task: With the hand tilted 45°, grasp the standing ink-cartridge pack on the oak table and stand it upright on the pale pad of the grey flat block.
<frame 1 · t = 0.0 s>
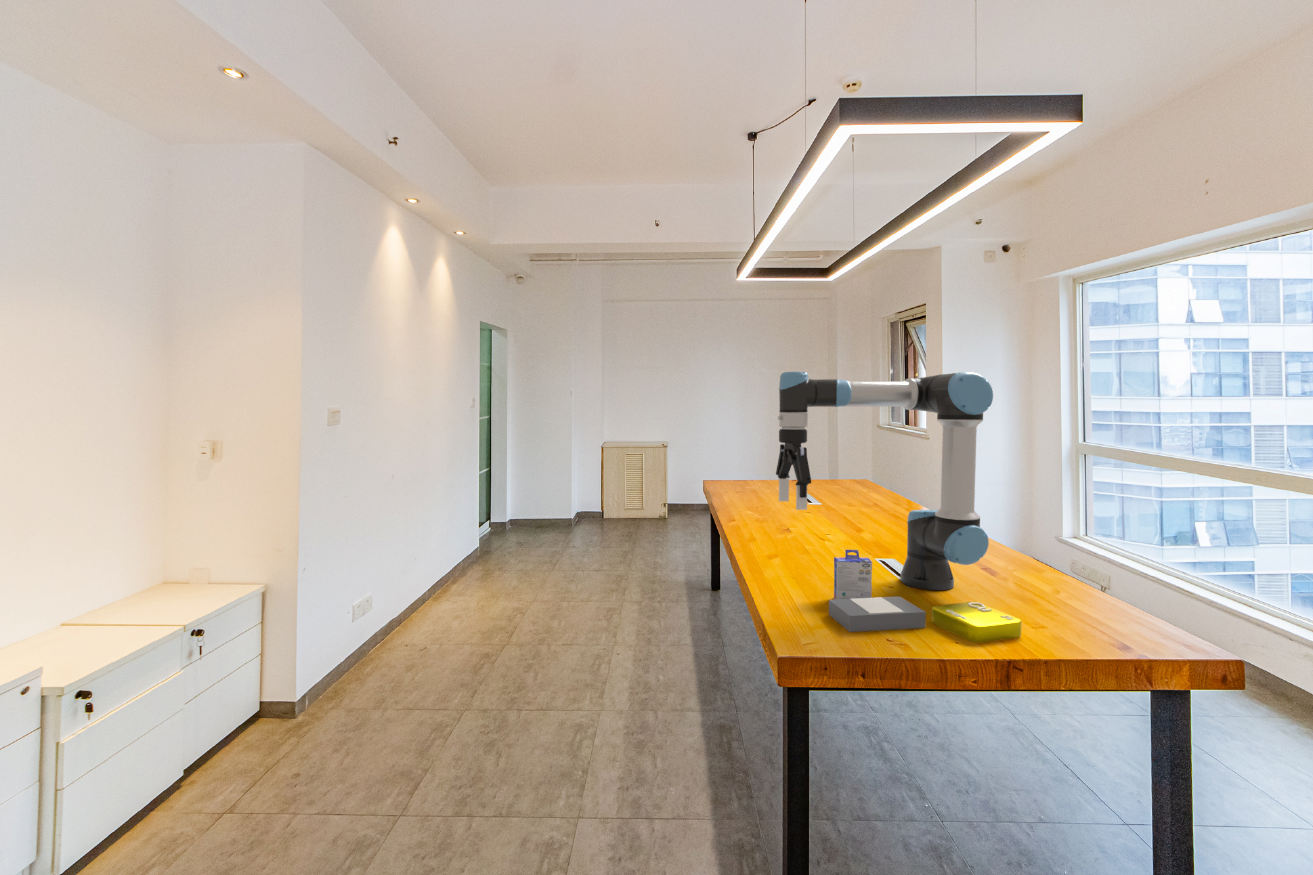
hand: (792, 505, 161), 28 cm above the table, tool pointing down, fingers open, 13 cm apart
ink cartridge box: (852, 602, 165), on the table
element tile: (974, 630, 145), on the table
grey flat block: (875, 620, 150), on the table
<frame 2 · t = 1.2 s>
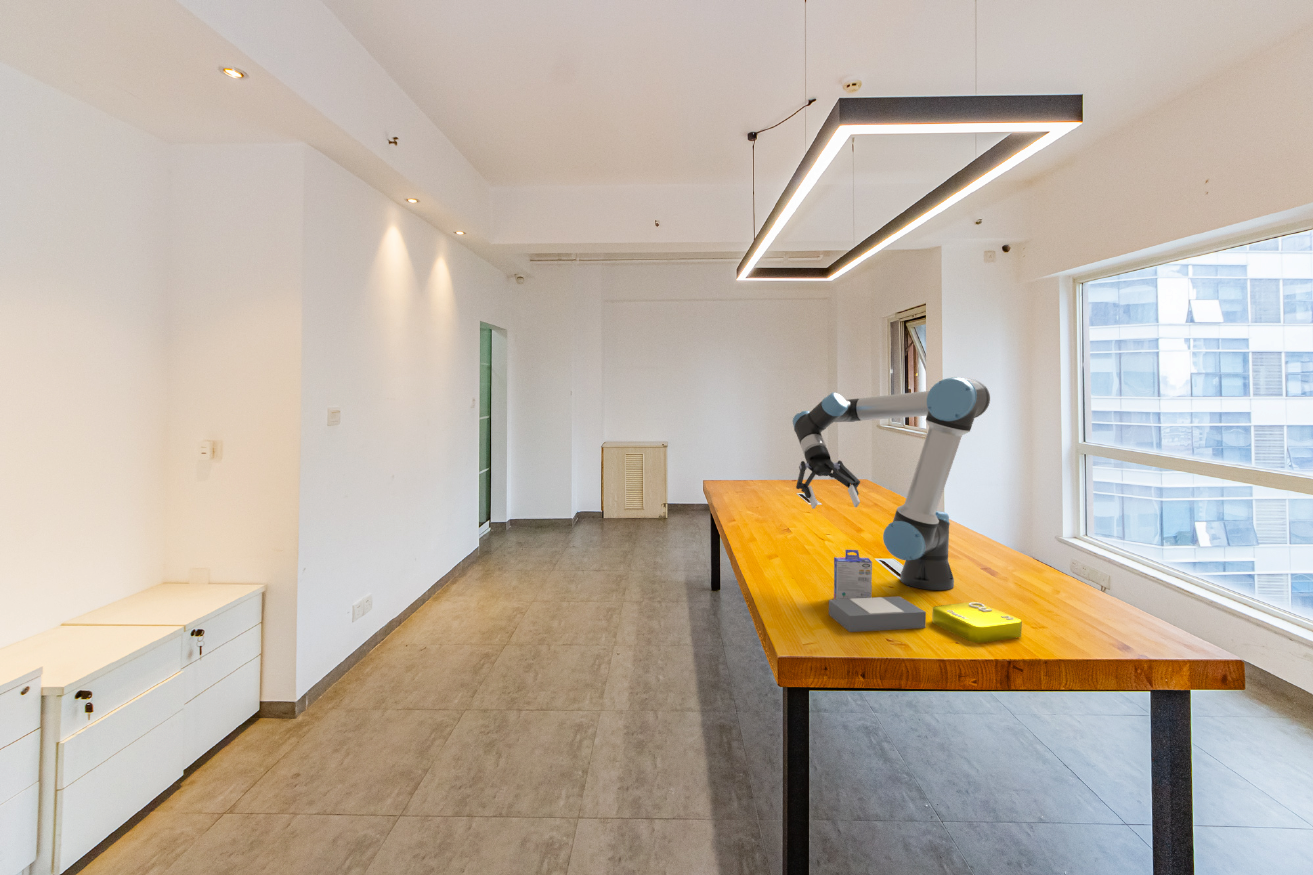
hand: (836, 505, 175), 26 cm above the table, tool tilted 45°, fingers open, 13 cm apart
nothing on the table moved.
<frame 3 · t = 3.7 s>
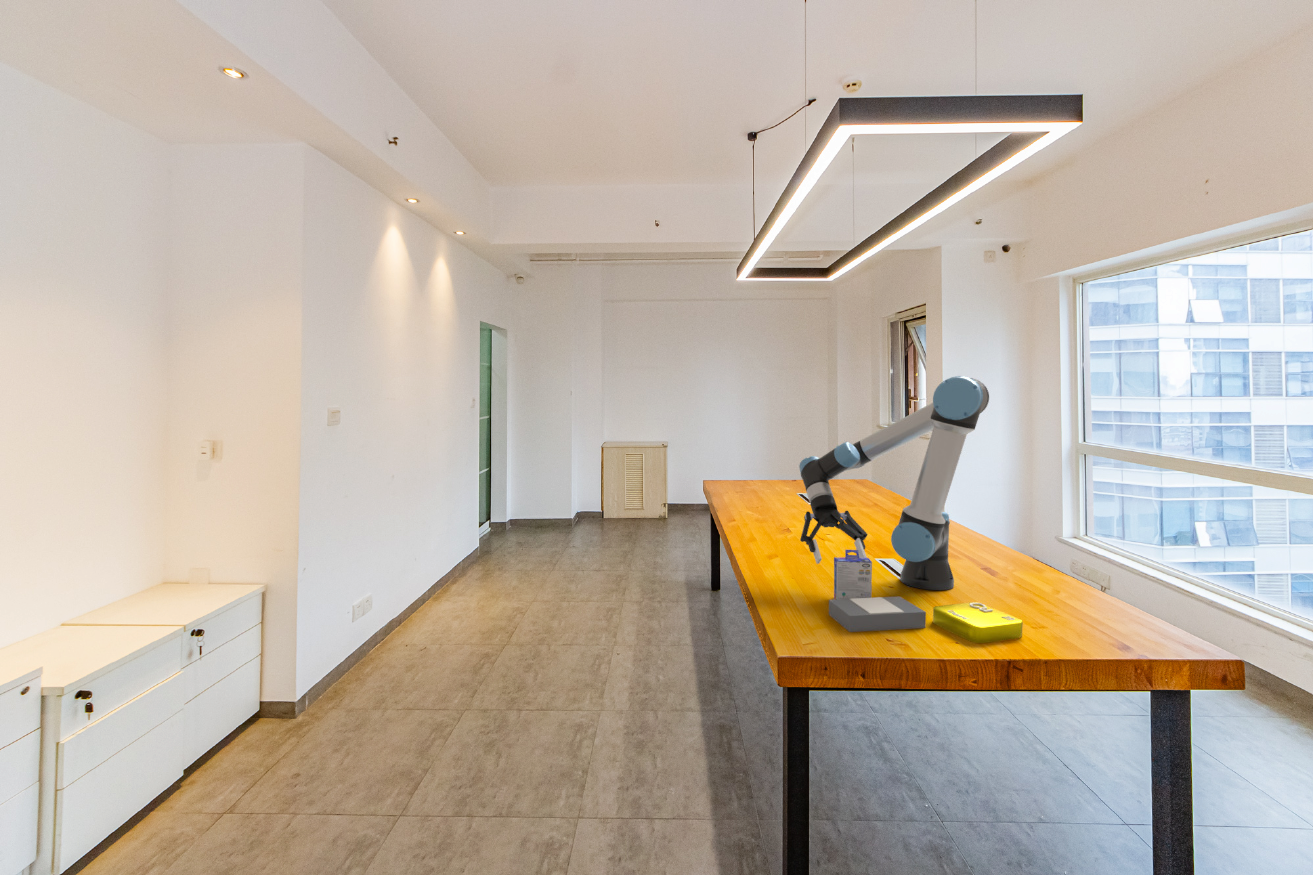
hand: (841, 560, 169), 11 cm above the table, tool tilted 45°, fingers open, 13 cm apart
nothing on the table moved.
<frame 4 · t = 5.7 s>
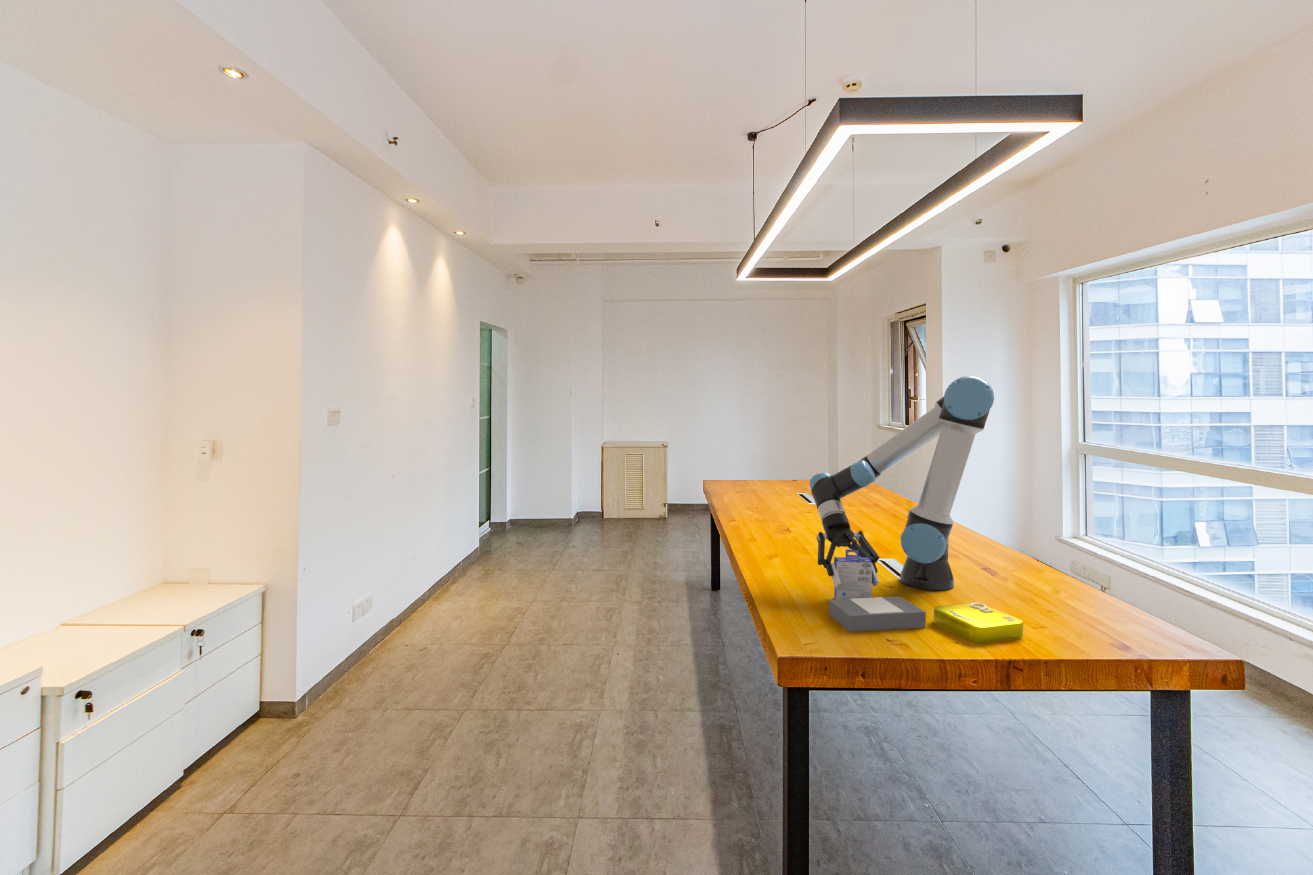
hand: (857, 585, 162), 6 cm above the table, tool tilted 45°, fingers closed on ink cartridge box, 10 cm apart
ink cartridge box: (852, 602, 165), on the table, touching gripper
everything else where it was.
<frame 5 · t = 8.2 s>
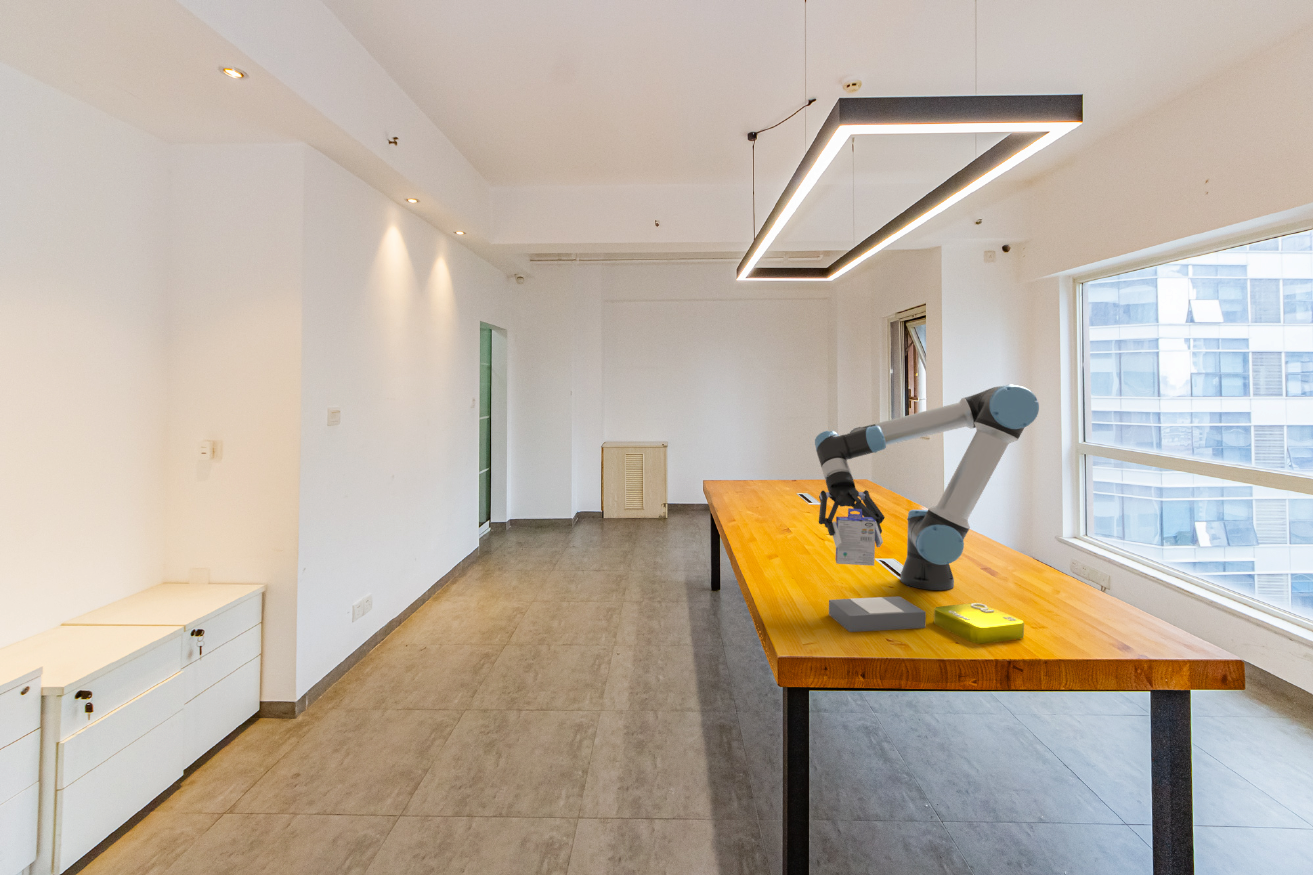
hand: (859, 544, 154), 19 cm above the table, tool tilted 45°, fingers closed on ink cartridge box, 10 cm apart
ink cartridge box: (854, 563, 158), point 13 cm above the table, touching gripper
everything else where it was.
when the fingers open (12 cm above the table, at t = 11.0 s): ink cartridge box drops 2 cm, resting on grey flat block.
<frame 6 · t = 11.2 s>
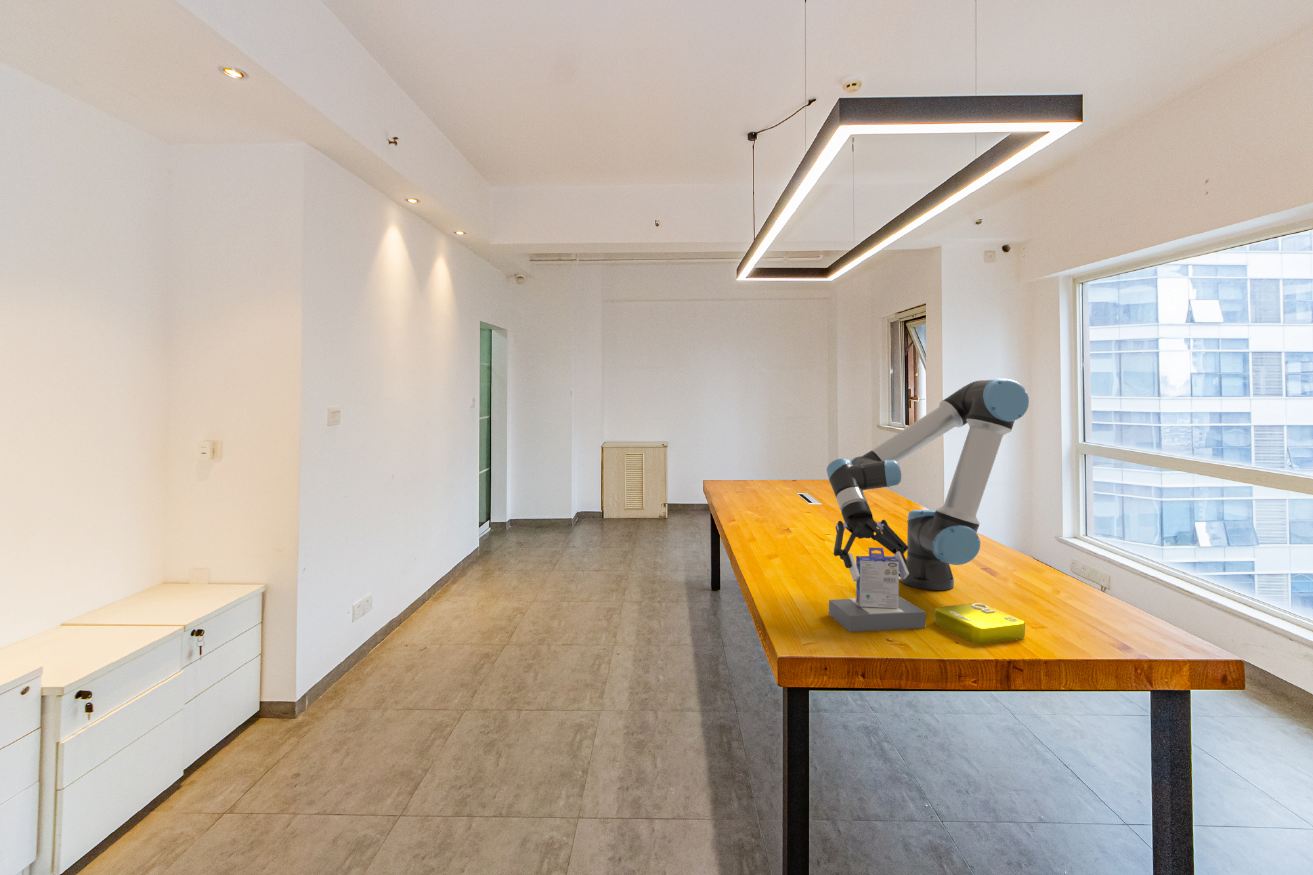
hand: (881, 577, 147), 12 cm above the table, tool tilted 45°, fingers open, 12 cm apart
ink cartridge box: (876, 605, 150), point 4 cm above the table, touching grey flat block
everything else where it was.
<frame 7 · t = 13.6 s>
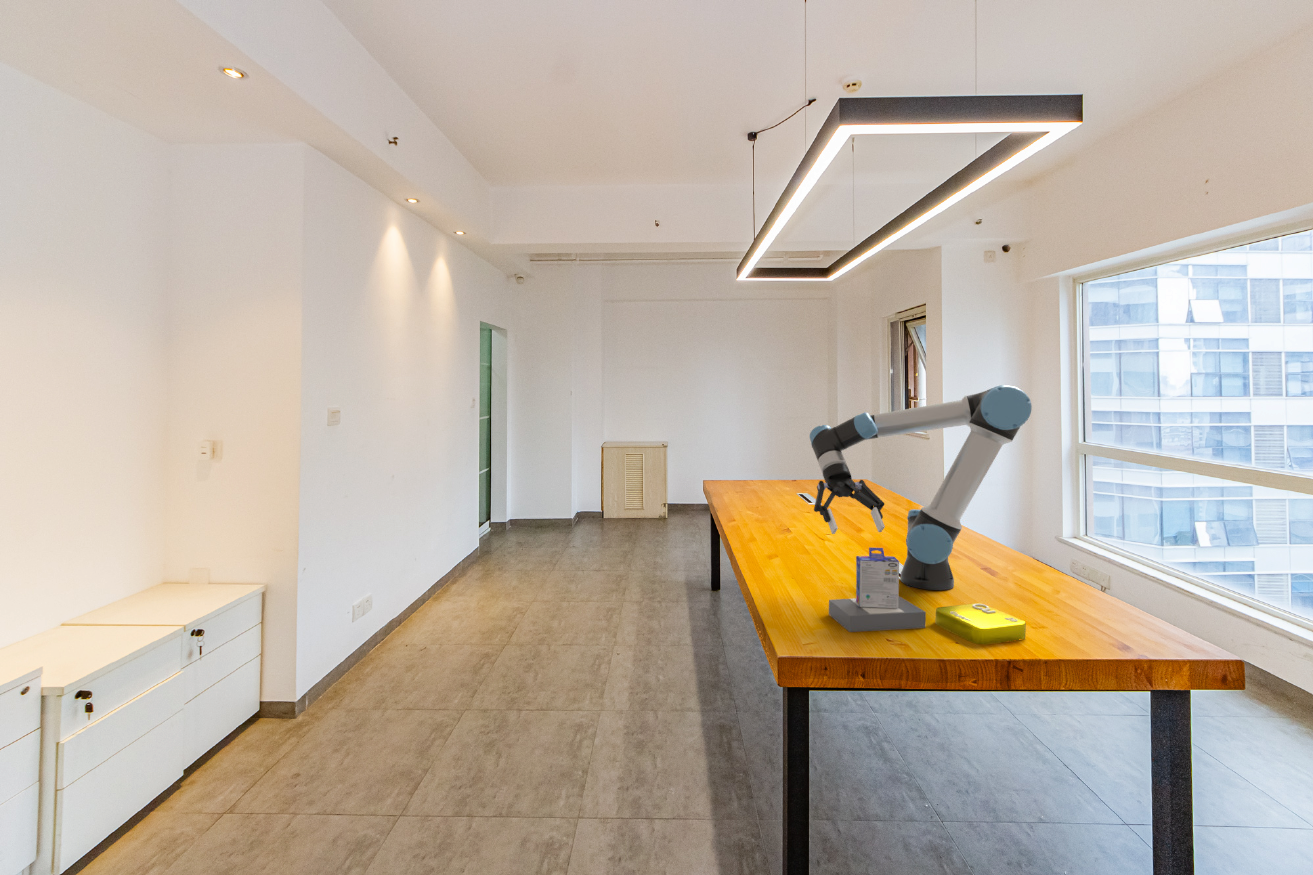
hand: (858, 530, 159), 21 cm above the table, tool tilted 45°, fingers open, 13 cm apart
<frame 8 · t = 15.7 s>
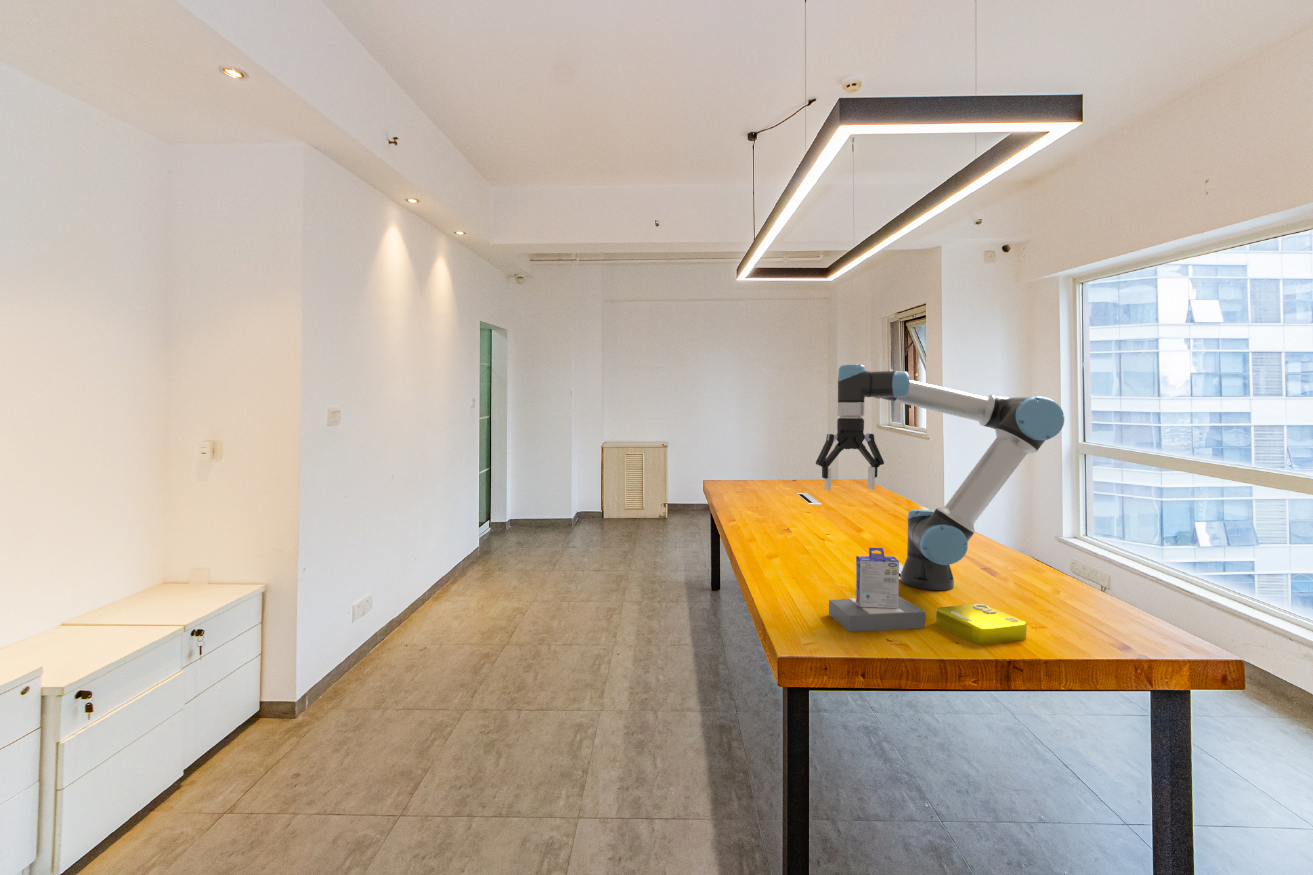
hand: (849, 489, 173), 31 cm above the table, tool pointing down, fingers open, 13 cm apart
at the end: ink cartridge box inside the target area on the grey flat block (0.3 cm from its centre), point 4.0 cm above the grey flat block's base; ink cartridge box tilted 0°; the gripper is holding nothing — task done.
